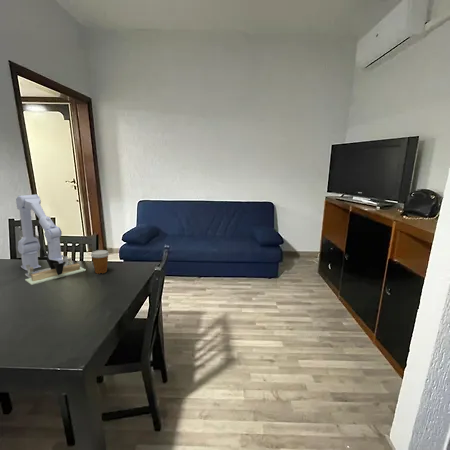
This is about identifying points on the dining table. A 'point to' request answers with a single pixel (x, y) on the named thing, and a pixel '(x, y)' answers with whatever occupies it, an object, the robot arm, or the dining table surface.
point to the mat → (54, 277)
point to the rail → (54, 272)
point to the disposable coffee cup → (100, 261)
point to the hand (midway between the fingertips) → (56, 272)
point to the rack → (30, 269)
